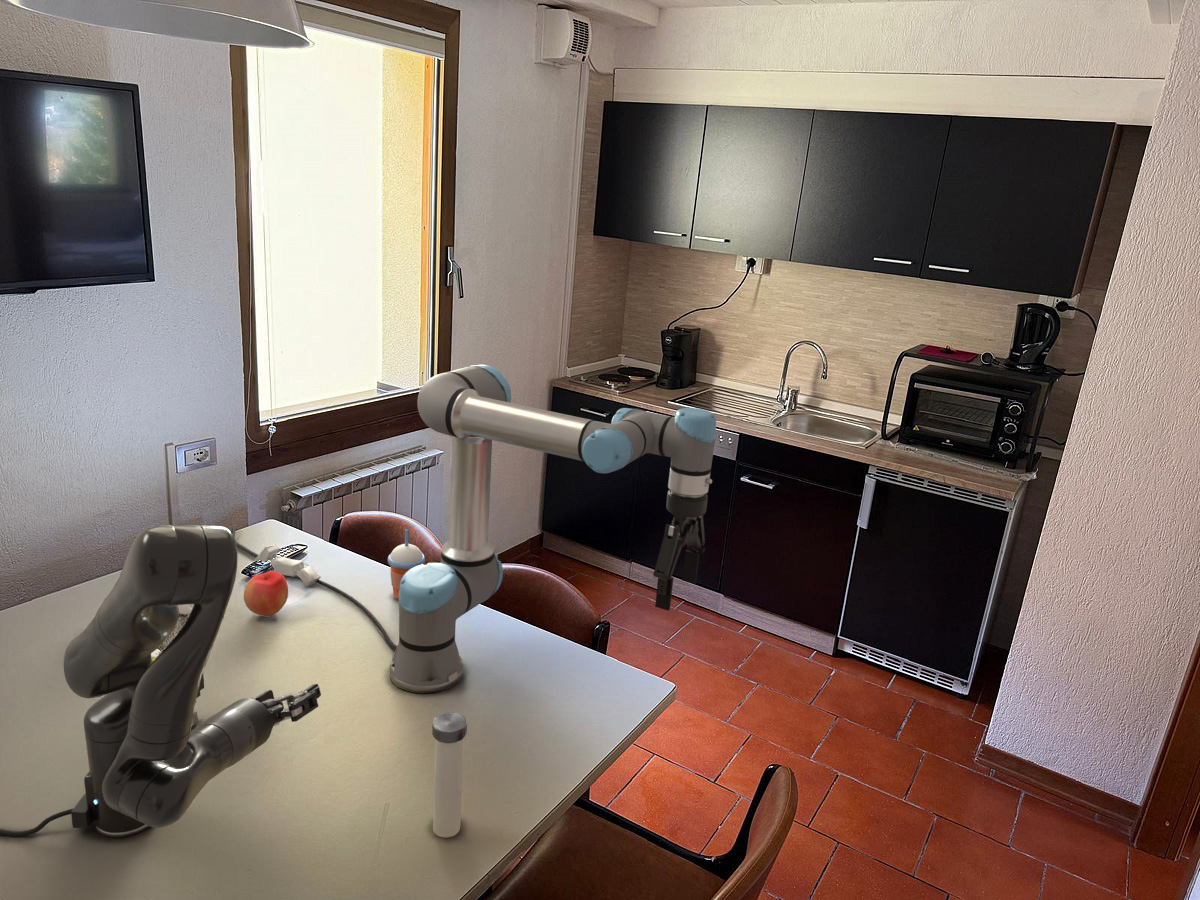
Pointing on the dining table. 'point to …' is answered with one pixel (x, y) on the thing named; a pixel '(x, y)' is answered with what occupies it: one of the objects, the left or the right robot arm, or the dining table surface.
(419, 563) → the cup with straw
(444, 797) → the white stepped cylinder
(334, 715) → the dining table surface
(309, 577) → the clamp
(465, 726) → the lid
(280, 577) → the apple
